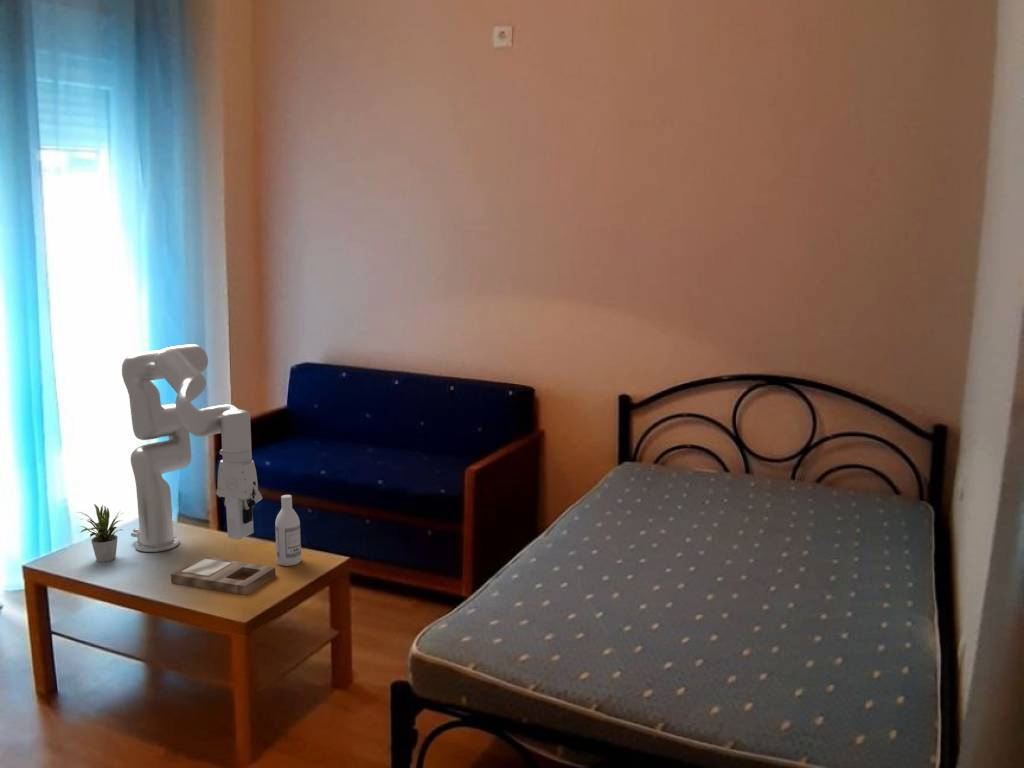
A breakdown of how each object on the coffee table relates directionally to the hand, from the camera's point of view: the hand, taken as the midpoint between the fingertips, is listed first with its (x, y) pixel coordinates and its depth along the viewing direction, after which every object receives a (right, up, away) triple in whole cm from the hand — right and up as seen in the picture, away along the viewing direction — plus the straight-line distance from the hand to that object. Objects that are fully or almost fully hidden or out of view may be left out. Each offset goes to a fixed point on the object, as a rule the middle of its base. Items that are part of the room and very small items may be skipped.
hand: (239, 520), depth 251 cm
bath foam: (+9, -15, +18) cm, 25 cm away
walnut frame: (-6, -17, +5) cm, 19 cm away
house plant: (-46, -14, +20) cm, 52 cm away
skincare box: (0, -4, +1) cm, 5 cm away
